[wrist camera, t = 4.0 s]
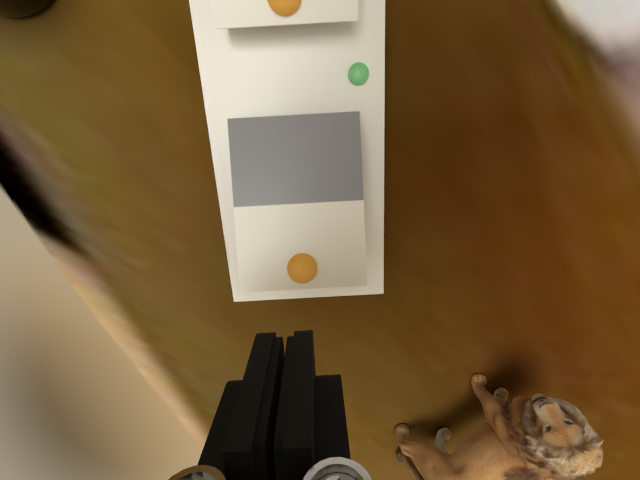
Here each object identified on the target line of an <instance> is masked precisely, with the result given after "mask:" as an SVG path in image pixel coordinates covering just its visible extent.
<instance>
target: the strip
mask: <svg viewBox="0 0 640 480" xmlns="http://www.w3.org/2000/svg"><path fill="white" fill-rule="evenodd" d="M189 3H190V10H191V17H192V23H193V30H194V37H195V43H196V50H197V57H198V64H199V70H200V77H201V84H202V91H203V97H204V104H205V111H206V117H207V124H208V131H209V138H210V144H211V151H212V158H213V164H214V171H215V178H216V185H217V191H218V198H219V205H220V211H221V218H222V225H223V232H224V238H225V245H226V252H227V259H228V265H229V272H230V279H231V285H232V292H233V299H234V302H237V301H255V300H274V299H293V298H311V297H330V296H348V295H367V294H383V293H384V113H385V0H358V21H350V22H333V23H316V24H298V25H281V26H264V27H247V28H230V29H215V24H214V18H213V13H212V7H211V2H210V0H189ZM354 111H360V133H361V155H362V177H363V199H364V221H365V243H366V265H367V286H353V287H335V288H316V289H297V290H279V291H260V292H242V293H240V288H239V274H238V261H237V247H236V233H235V219H234V205H233V192H232V178H231V164H230V150H229V136H228V122H227V119H230V118H248V117H266V116H283V115H301V114H319V113H336V112H354Z"/></svg>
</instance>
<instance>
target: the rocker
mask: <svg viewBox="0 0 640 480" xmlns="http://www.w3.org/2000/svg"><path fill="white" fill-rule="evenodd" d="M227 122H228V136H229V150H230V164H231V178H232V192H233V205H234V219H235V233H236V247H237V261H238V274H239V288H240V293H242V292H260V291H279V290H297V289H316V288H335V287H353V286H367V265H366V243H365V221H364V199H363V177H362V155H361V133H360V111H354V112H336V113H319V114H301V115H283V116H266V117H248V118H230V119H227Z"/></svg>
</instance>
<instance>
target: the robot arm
mask: <svg viewBox="0 0 640 480" xmlns="http://www.w3.org/2000/svg"><path fill="white" fill-rule="evenodd" d="M169 480H372V479H371V477H370V475H369V473H368V472H367V471H366V470H365V469H364V468H363V467H362V466H361V465H360V464H358V463H356V462H355V461H353V460H351V459H350V451H349V442H348V433H347V425H346V416H345V407H344V399H343V390H342V382H341V375H340V374H338V375H321V376H316V373H315V358H314V343H313V331H312V330H306V331H294V336H288V337H287V344H286V352H285V355H284V345H283V338H282V337H276V333H275V332H272V333H257V334H256V336H255V340H254V343H253V347H252V350H251V354H250V357H249V360H248V364H247V367H246V371H245V374H244V378H243V380H235V381H228V382H227V384H226V386H225V389H224V392H223V395H222V397H221V400H220V403H219V406H218V409H217V412H216V414H215V417H214V420H213V423H212V426H211V428H210V431H209V434H208V437H207V440H206V443H205V445H204V448H203V451H202V454H201V457H200V460H199V462H198V465H197V466H193V467H190V468H186V469H184V470H182V471H180V472H179V473H177V474H175V475H173V476H172V477H171V478H170V479H169Z"/></svg>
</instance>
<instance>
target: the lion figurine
mask: <svg viewBox="0 0 640 480" xmlns="http://www.w3.org/2000/svg"><path fill="white" fill-rule="evenodd" d="M486 383H487V380H486V377H485V376H484V375H483V374H474V375H473V376H472V378H471V386H472V388H473V390H474V393H475V394H476V395H477V396H478V398H479V400H480V402H481V404H482V408H483V411H484V417H485V420H486V423H484V424H481V425H479V426H477V427H475V428H474V429H472V430H470V431H469V432H468V433H467V434H466V435H465V436H464V437H462V439H461V440H460V441H459V442H458V444H457V446H456V449H455V451H454V453H452V454H448V453H447V451H446V450H445V447H444V442H445V440H448V439H450V438H451V436H452V433H451V431H450V430H449V429H448V428H441V429H440V430H438V432H437V434H436V438H435V442H434V445H433V446H431V445H429V444H427V443H423V442H416V441H409V440H406V439H405V437H406V436H408V434H409V427H408V426H407V425H405V424H399V425H397V426H396V428H395V436H396V439H397V442H398V444H399V446H400V449H401V451H402V452H401V453H398V455H397V456H396V459H397V460H398V461H400V462H403V461H405V462H406V464H407V467H408V469H409V471H410V473H411V475H412V477H413V479H414V480H424V479H423V477H422V476H421V474H420V473H419V471H418V470H417V468H416V467H415V465H414V464H413V462H412V460H411V459H410V457H411V458H413V459H414V460H415V461H416V462H417V463H418V465H419V466H420V468H421V470H422V472H423V474H424V477H425V479H426V480H504V479H506V478H510V477H514V478H520V479H522V480H556V479H557V480H576V479H579V478H582V479H584V478H585V477H586V475H587V474H591V473H594V472H595V469H596V468H598V467H600V466H601V465H602V460H603V451H602V447H601V444H602V443H603V439H602V438H601V437H600V436H599V435H598V434H597V433H596V432H595V431H594V429H593V428H592V427H591V426H590V425H589V424H588V421H587V419H586V418H585V417H584V416H583V415H582V413H581V412H580V411H579V409H578V408H577V407H576V406H574V405H572V404H571V403H569V402H567V401H564V400H562V399H556V398H551V397H545V396H544V395H542V394H539V393H538V394H535V395H533V397H532V398H527V397H525V396H518V397H515V398H513V399H512V400H510V402H506V400H507V398H508V391H507V390H506V389H504V388H498V389H497V390H495V392H494V395H493V396H494V397H493V396H492V395H491V394H490V393H489V392H488V391H487V390H486V388H485V385H486Z"/></svg>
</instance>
